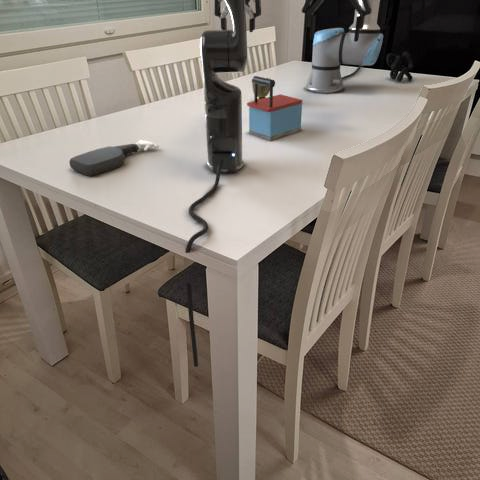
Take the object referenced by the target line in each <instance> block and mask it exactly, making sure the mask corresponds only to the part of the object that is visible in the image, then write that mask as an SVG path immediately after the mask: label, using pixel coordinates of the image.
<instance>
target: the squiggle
mask: <svg viewBox="0 0 480 480" xmlns="http://www.w3.org/2000/svg"><path fill="white" fill-rule="evenodd" d="M401 57H402V59H401ZM391 59H392V60H391ZM393 60H394V61H393ZM385 61H386V64H387V67H390V68H391V70H390V72H389V78H390V79H391V80H395V79H396V81H397V82H399V83H400V82H402V81H403V79H404V76H406V78H407V80H408V81H412V80H413V79H414V77H413V75H412V74H411V73H410V72H409V71H410V70H412V69H413V68H414V64H413V61H412V57H411V54H410V53H409V52H408V51H403V53H402V54H401V55H396V54H394V53H392V52H390V53H387V55H386V57H385ZM406 62H407V65H408V66H407V67H405V66H404V65H405V64H406ZM400 70H401V71H400Z"/></svg>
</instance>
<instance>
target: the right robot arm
mask: <svg viewBox="0 0 480 480" xmlns="http://www.w3.org/2000/svg"><path fill="white" fill-rule="evenodd" d="M313 1H314V0H306V1H305V2H304V4H303V6H302V9H301V13H302V14H305V15H307V21H306V26H307V28H309V37H308V40H311V41H312V40H313V41H312V42H313V43H312V56H311V57H312V59H311V69H310V73H309V75H308V78H307V80H306V84H305V85H306V86H305V89H306V90H307V91H309V92H311V93H318V94H334V93H335V94H336V93H339V92H342V91H343V89H344V82H343V80H345V79H347V78H351V77H352V76H354V75H355V74H357V73H358V72H359V70H361V68H362V67H364V66H373V65H374V64H376V62H377V61H378V58H379V55H380V52H381V48H382V45H383V42H384V41H383V39H384V34H383V33H382V32H381V28H380V26H379V25H378V16H379V11H380V10H379V9H380V2H381V0H349V2H350V3H351V5H352V6H353V8H354V17H353V23H352V24H351V25H350V27H349V28H348V32H345V29H344V28H343V27H333V28H327V29H321V30H317V31H316V19H317V18H316V14H314V13H315V12H316V11H317V9H318V8H319V7H320V6H321V5H322V4H323V2H324V1H325V0H316V1H315V2H314V3H313ZM312 3H313V5H312ZM341 65H351V66H353V65H354V66H358V67H357V68H356V69H355V71H353V72H352V73H350V74H348V75H344V76H342V74H341Z"/></svg>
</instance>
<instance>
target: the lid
mask: <svg viewBox="0 0 480 480" xmlns="http://www.w3.org/2000/svg"><path fill="white" fill-rule="evenodd" d="M267 78H268V77H263V78H262V76H258V75H254V76H253V77H252V78H251V83H252V82H253V83H254V93H253V95H254V98H253V100H252V101H248V102H247V103H246V106H247V107H249V106H250V107H253V108H256V109H260V110H263V111H267V112H271V111H275V110H278V109H282V108H285V107H289V106H293V105H296V104H300V103H302V104H303V99H300V98H296V97H293V96H288V95H284V94H276V95H274V87H275V85H276V81H275V80H274V79H271V78H270V79H269V78H268V79H267ZM258 85H262V86H266V87H270V91H269V96H268V97H266V98H264V99H260V100H258Z"/></svg>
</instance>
